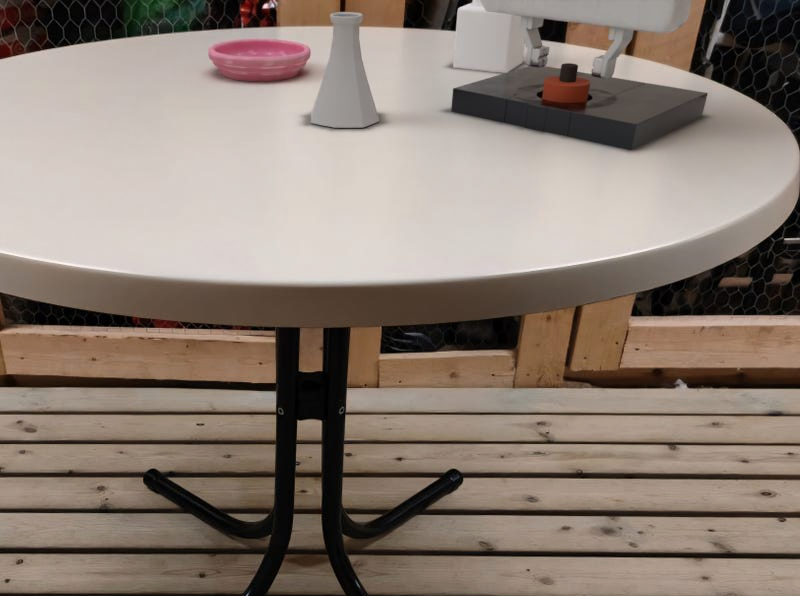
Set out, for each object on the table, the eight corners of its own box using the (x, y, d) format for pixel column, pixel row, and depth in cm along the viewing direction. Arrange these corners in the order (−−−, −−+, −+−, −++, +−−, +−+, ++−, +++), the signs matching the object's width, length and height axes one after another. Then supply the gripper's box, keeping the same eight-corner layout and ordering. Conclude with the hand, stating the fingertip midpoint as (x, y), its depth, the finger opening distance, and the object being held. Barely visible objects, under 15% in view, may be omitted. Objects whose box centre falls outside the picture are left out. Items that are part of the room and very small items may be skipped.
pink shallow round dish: (290, 60, 109) (290, 34, 108) (325, 80, 100) (325, 52, 98) (198, 68, 106) (196, 41, 104) (225, 89, 96) (224, 60, 94)
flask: (387, 115, 86) (392, 10, 81) (369, 133, 81) (373, 22, 75) (321, 109, 88) (321, 7, 83) (299, 127, 82) (298, 18, 77)
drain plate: (701, 118, 85) (707, 92, 84) (630, 152, 75) (635, 124, 74) (531, 86, 97) (534, 64, 96) (450, 113, 87) (452, 88, 86)
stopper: (591, 121, 84) (601, 64, 81) (569, 130, 82) (579, 71, 79) (552, 113, 87) (561, 58, 84) (530, 122, 84) (538, 65, 81)
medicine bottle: (523, 63, 108) (536, -40, 101) (506, 74, 102) (519, -35, 96) (470, 58, 110) (479, -43, 104) (451, 68, 105) (460, -38, 99)
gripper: (723, -88, 70) (685, 82, 78) (515, -96, 82) (498, 52, 90) (693, -85, 66) (655, 94, 74) (478, -94, 78) (464, 61, 86)
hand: (568, 71), depth 82 cm, fingers open, 6 cm apart
